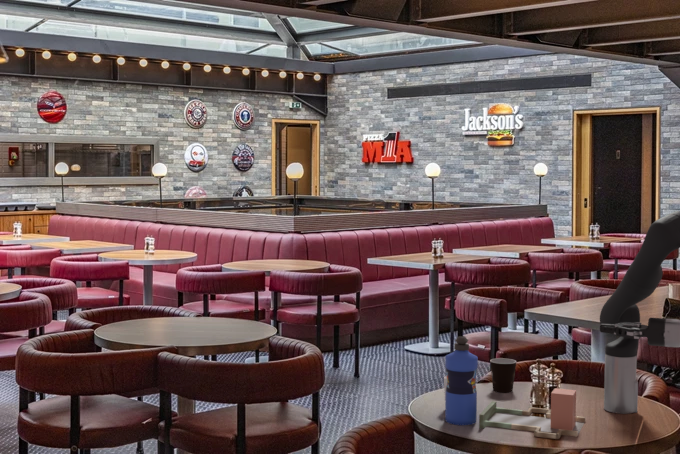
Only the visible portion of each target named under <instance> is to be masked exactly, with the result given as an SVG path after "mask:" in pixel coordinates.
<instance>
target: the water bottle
mask: <svg viewBox="0 0 680 454" xmlns="http://www.w3.org/2000/svg"><path fill="white" fill-rule="evenodd" d="M454 341H455V343H454V346H453V347H454V348H453V349H454V351H453V352H450V353H449V354H448V353H447V354H446V355H445V356H444V359H445V363H444V364H445V366H444V367H445V372H446V376H447V386H446V406H445V405H444V407H445V410H444V411H445V413H444V414H445V417H444V419H445V422H446V423H448V424H450V425H454V426H470V425H474V424H476V423H477V416H478V414H477V413H478V412H477V407H478V406H477V403H478V402H477V400H478V396H477V394H478V393H477V391H478V390H477V385H476V378H477V371H478V363H479V360H478V356H477V355H475V354H473V353H471V352H470V351H469V350H470V344H469V343H468V342H469V339H468V338H467V337H466V336H465V335H458V337H457V338H456V339H455V340H454Z"/></svg>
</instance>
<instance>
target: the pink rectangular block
mask: <svg viewBox="0 0 680 454" xmlns="http://www.w3.org/2000/svg"><path fill="white" fill-rule="evenodd" d="M550 409H551V428H554V429H563V430H573V428H574V427H575V424H576V416H577V414H576V413H577V390H575V389H567V388H556V387H555V388H553V390H552V391H551V392H550Z"/></svg>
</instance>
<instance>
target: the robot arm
mask: <svg viewBox="0 0 680 454" xmlns="http://www.w3.org/2000/svg"><path fill="white" fill-rule="evenodd" d="M678 249H680V210H676V211H674V212H671V213H669V214H667V215H664V216H663V217H661V218H658V219H656V220H654V222H653V223H651V224H650V226H649V228H648V229H647V232H646V235H645V237H644V240H643V243H642V245H641V247H640V249H639V251H638V253H637V254H636V256H635V257H634V259H633V261H632V262H631V264H630V265H629V266H628V268H627V270H626V272H625V273H624V276H623V277H622V280H621V281H620V283H619V284H618V285H617V288H616V289H615V290H614V292H613V293H612V294H611V296H610V297H609V298H608V299H607V300H606V302H605V303H604V304H603V306H602V308H601V309H600V310H601V311H600V313H599V332H600V333H606V334H607V333H608V334H613V335H615V336H617V337H618V338H616V339H615V340H613V341H610V342H608V343H607V344H605V347H604V354H605V355H604V383H603V384H604V385H603V387H604V388H603V389H604V391H603V393H604V394H603V409H604V410H605V411H606V412H609V413H614V414H624V415H625V414H632V413H638V403H639V402H638V401H639V398H638V397H639V396H638V395H639V382H638V381H639V380H637V360H638V358H637V357H638V355H637V354H638V348H639V342H640V341H639V340H640V339H641V338H647V345H649V346H655V347H666V348H680V319H676V318H666V317H665V318H663V317H649V318H648V323H647V324H646V325H645V324H642V322H641V313H640V308H639V306H638V305H637V304H638V303H640V302H642V301H644V300H646V299H647V298H649V297H650V296H651V295H652V294H653V293H654V292H655V291H656V290H657V288H658V286H659V284H660V283H661V280H662V278H663V276H664V275H663V274H664V272H663V271H664V270H663V267H662V266H663V265H662V264H663V262H664V261H665V259H666V258H667V257H668V256H669V255H670V254H671V253H673V252H674V251H677V250H678Z"/></svg>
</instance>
